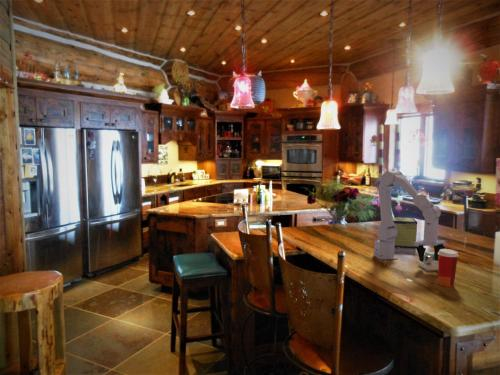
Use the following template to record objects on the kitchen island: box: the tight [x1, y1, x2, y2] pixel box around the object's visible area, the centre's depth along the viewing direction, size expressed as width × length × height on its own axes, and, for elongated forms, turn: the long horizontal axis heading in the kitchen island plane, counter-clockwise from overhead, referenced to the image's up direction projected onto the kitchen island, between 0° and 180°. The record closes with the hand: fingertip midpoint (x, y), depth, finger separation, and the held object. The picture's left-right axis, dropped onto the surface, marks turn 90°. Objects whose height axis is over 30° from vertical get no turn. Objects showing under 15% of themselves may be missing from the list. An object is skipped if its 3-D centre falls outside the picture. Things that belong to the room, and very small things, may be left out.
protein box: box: [392, 216, 418, 250], centre depth 217 cm, size 10×16×16 cm
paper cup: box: [437, 248, 460, 288], centre depth 157 cm, size 8×8×14 cm
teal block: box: [424, 251, 436, 261], centre depth 186 cm, size 4×4×5 cm
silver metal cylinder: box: [424, 254, 434, 266], centre depth 179 cm, size 4×4×5 cm
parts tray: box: [417, 260, 438, 271], centre depth 179 cm, size 12×7×2 cm, turn 99°
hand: (428, 260), depth 179 cm, fingers open, 7 cm apart
